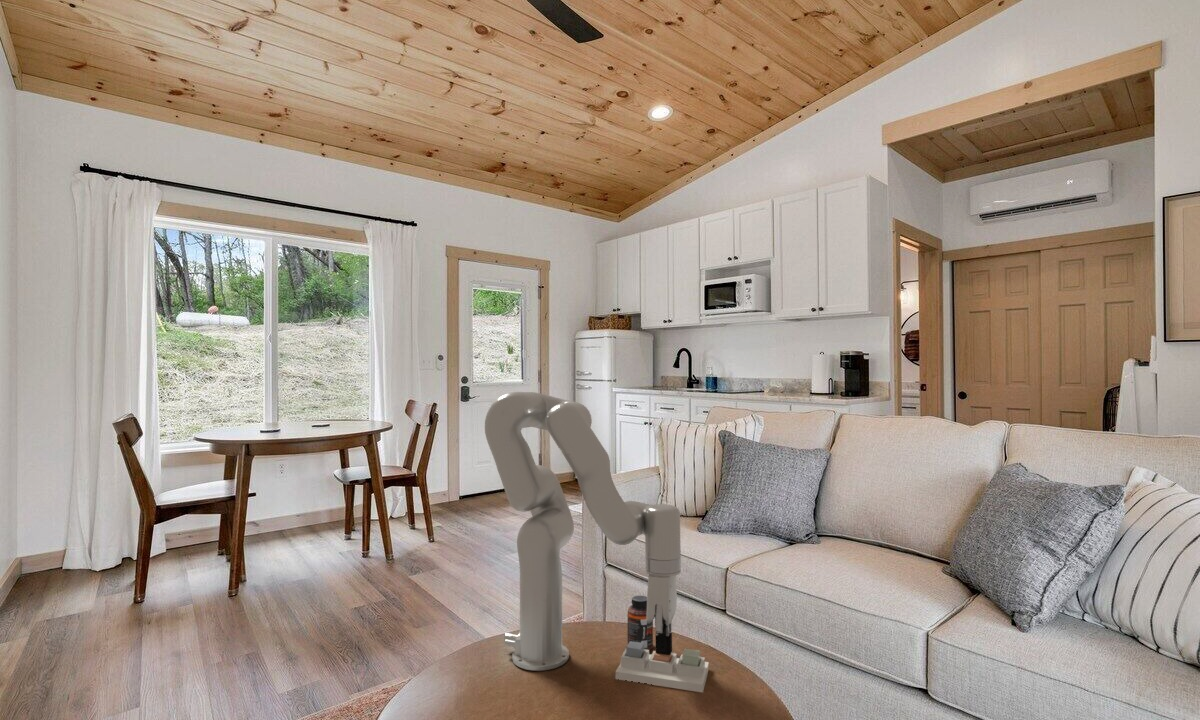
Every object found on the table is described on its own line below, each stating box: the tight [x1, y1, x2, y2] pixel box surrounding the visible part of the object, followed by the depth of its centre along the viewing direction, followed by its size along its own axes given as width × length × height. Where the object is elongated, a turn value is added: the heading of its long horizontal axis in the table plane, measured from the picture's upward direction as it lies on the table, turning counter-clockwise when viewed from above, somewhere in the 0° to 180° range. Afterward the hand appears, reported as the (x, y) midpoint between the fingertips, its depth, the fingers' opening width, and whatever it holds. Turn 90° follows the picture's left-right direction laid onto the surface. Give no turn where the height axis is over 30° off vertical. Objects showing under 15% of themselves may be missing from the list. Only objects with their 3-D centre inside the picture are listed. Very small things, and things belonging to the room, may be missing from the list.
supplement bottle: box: [626, 595, 654, 651], centre depth 134 cm, size 6×6×11 cm
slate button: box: [625, 641, 644, 658], centre depth 123 cm, size 3×3×2 cm
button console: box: [614, 648, 710, 693], centre depth 122 cm, size 18×10×4 cm, turn 73°
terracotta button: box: [654, 650, 673, 662], centre depth 122 cm, size 3×3×2 cm
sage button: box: [682, 648, 701, 666], centre depth 120 cm, size 3×3×2 cm
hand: (663, 652), depth 122 cm, fingers closed
